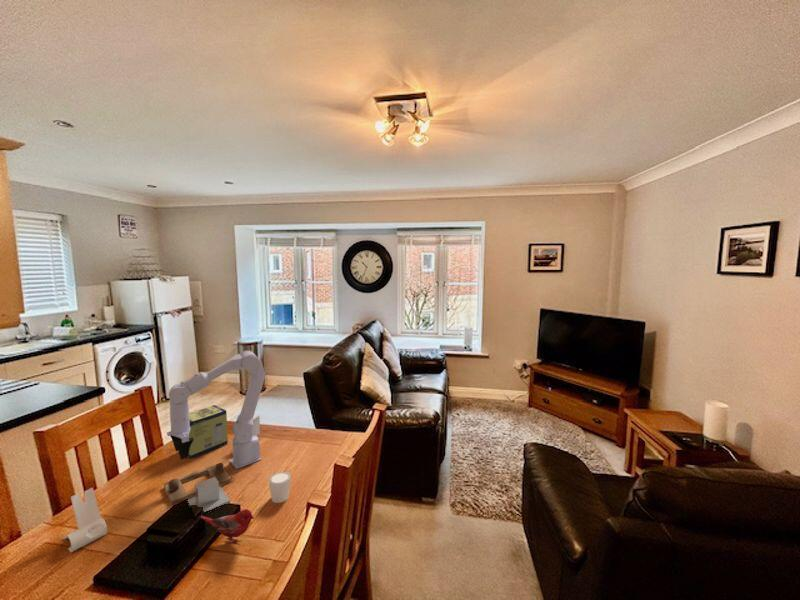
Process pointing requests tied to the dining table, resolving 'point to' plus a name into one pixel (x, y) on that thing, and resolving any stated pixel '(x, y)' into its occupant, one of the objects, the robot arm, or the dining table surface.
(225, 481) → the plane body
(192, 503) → the grey square tile
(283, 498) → the white cylinder
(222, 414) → the protein box
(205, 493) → the lever cap
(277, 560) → the dining table surface
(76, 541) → the plastic part
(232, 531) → the decorative bird figurine
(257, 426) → the skincare box
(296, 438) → the dining table surface
